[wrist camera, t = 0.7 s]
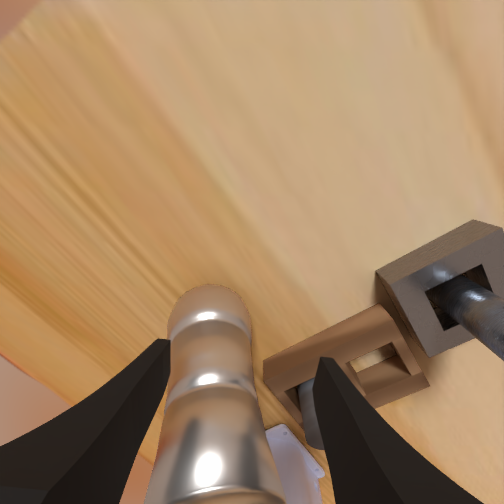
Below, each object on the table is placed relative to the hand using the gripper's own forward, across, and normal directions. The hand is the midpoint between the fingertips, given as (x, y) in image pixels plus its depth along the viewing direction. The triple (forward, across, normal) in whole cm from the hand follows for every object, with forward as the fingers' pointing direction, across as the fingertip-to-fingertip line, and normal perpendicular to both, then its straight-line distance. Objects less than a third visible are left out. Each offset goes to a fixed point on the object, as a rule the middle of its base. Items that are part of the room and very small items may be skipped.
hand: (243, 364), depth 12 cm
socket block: (+10, -16, -1) cm, 19 cm away
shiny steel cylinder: (+10, -16, -1) cm, 19 cm away
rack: (+10, -9, +8) cm, 16 cm away
